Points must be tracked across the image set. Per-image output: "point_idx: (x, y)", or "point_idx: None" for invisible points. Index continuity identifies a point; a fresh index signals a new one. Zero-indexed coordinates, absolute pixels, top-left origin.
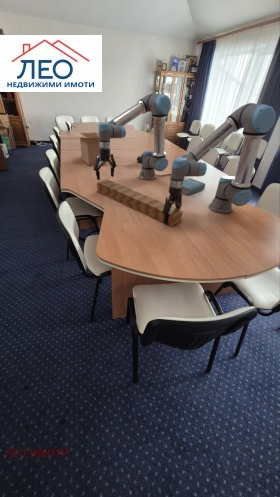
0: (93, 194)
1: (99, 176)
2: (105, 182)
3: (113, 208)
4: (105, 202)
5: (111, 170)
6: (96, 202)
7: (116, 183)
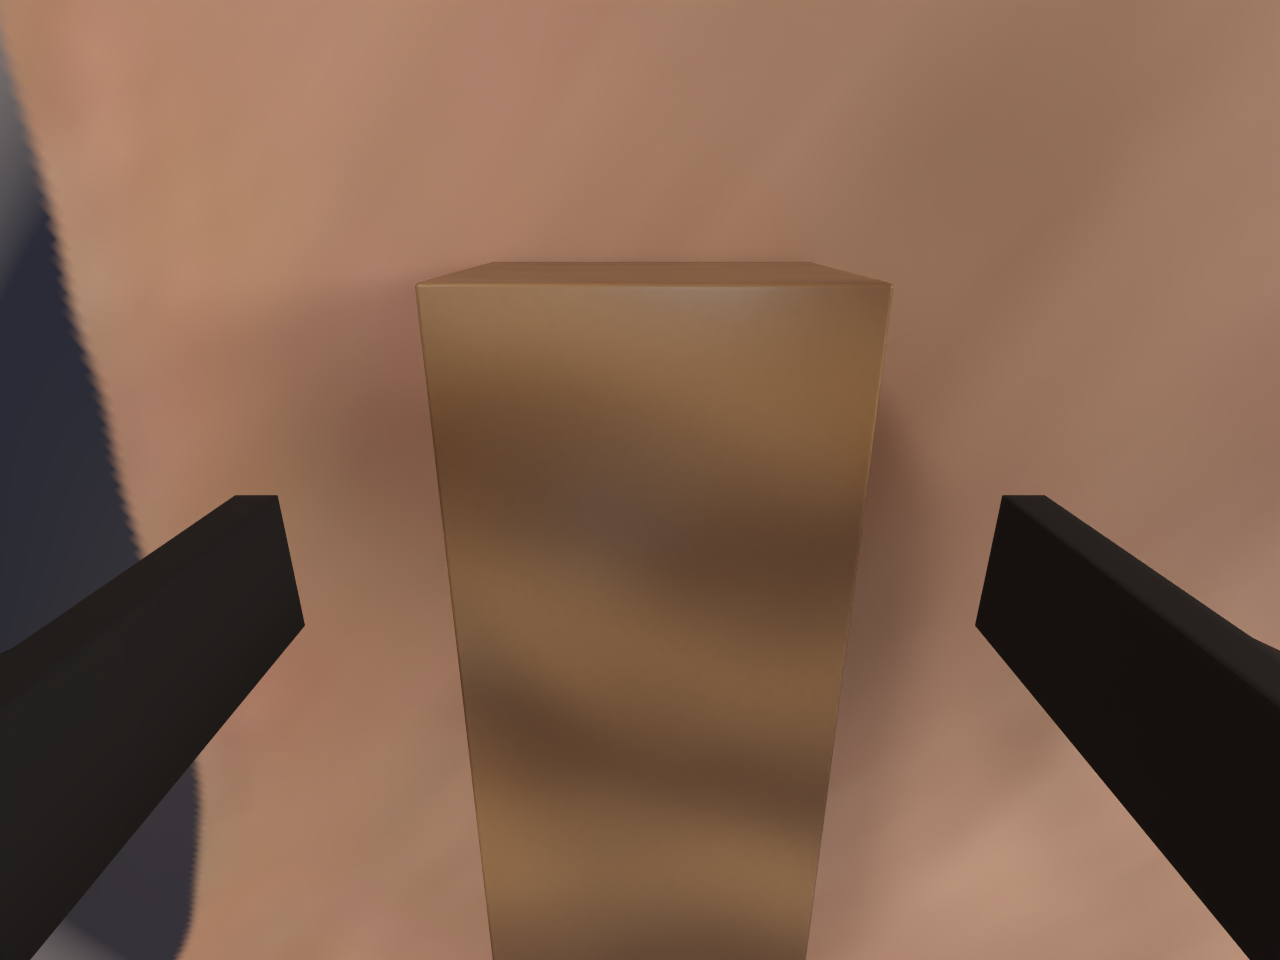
0: (311, 354)
1: (195, 731)
2: (630, 498)
3: (320, 932)
4: (326, 753)
5: (1166, 708)
6: None
7: (824, 733)
